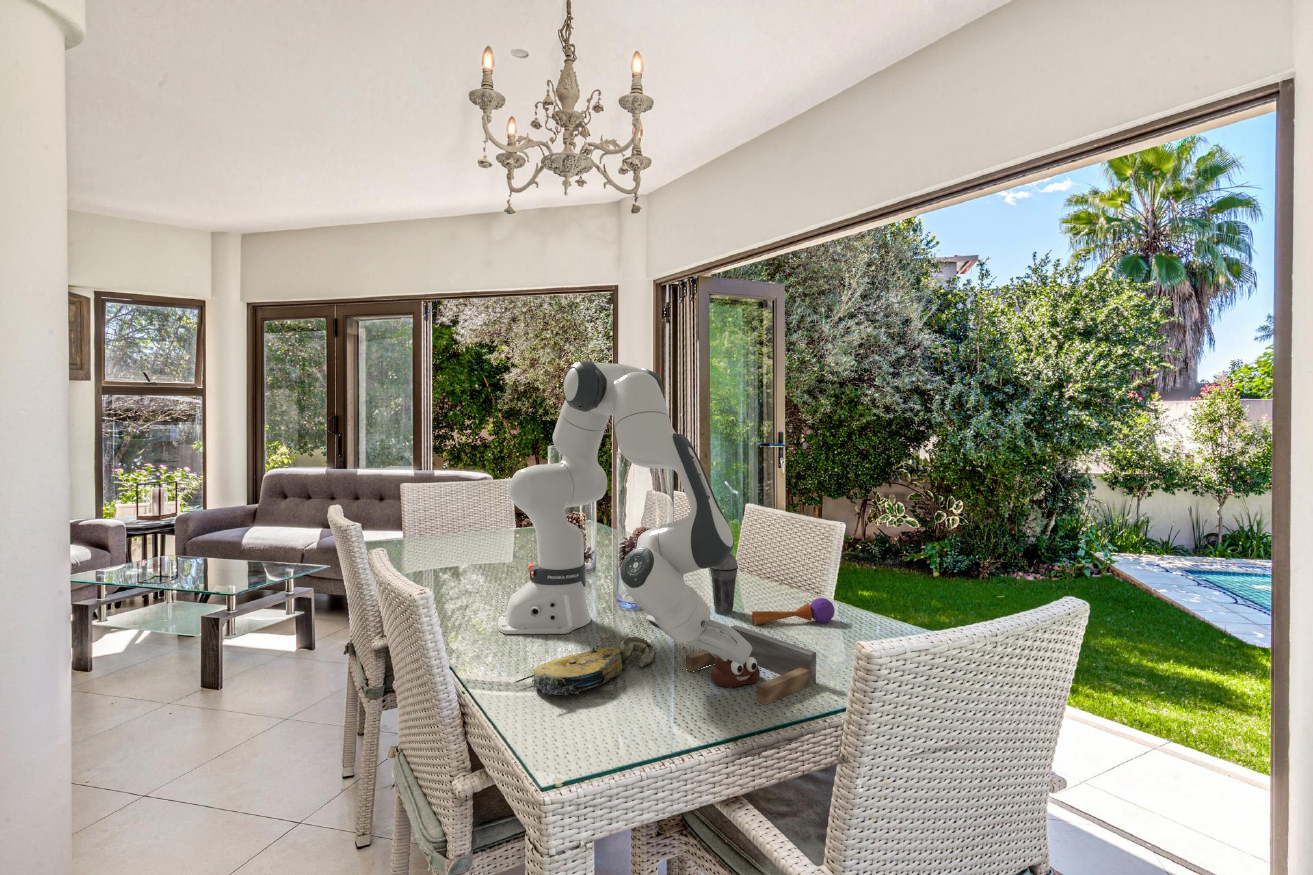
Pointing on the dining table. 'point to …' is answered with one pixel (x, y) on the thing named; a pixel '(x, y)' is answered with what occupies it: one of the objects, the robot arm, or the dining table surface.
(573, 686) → the pulley block
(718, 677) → the poop emoji
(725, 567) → the beverage cup
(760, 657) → the channel
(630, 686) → the dining table surface
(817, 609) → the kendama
